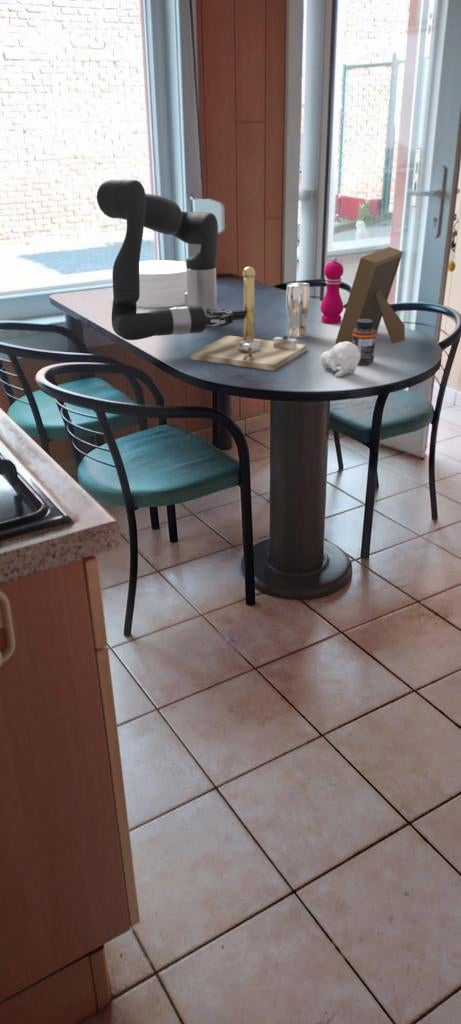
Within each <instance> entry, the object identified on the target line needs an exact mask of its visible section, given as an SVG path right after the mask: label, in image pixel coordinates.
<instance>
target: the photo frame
mask: <svg viewBox="0 0 461 1024" xmlns="http://www.w3.org/2000/svg"><path fill="white" fill-rule="evenodd" d="M403 254H404V251H402V250H398V249H396V248H393V247H390V246H388V247H385V248H382V249H380V250H377V251H374V252H372V253H370V254H369V253H368V254H366V255H364V256H361V257H360V259H359V263H358V266H357V270H356V273H355V276H354V279H353V282H352V285H351V290H350V293H349V296H348V299H347V303H346V306H345V311H344V313H343V318H341V322H340V327H339V330H338V333H337V336H336V340H335V345H337V344H338V343H339V342H345V341H348V342H351V343H352V336H353V330H354V328H356V327H357V320H359V319H371V320H372V321H373V325H372V328H374V329H375V331H376V334H377V333H378V331H379V328H380V324H381V320H383V322H384V325H385V327H386V331H387V333H388V336H389V339H390V342H391V343H398V342H403V341H406V340H405V339H406V337H405V335H406V334H405V331H406V330H405V324H404V323H403V321H402V320H401V318H400V317H399V316H398V314H397V312H396V311H395V310H394V309H393V307H392V306H391V304H390V303H389V302H388V299H389V296H390V293H391V291H392V287H393V285H394V281H395V278H396V275H397V272H398V268H399V265H400V263H401V259H402V256H403Z"/></svg>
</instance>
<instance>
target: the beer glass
mask: <svg viewBox="0 0 461 1024" xmlns="http://www.w3.org/2000/svg"><path fill="white" fill-rule="evenodd" d="M285 291H286V292H285V308H286V315H287V322H288V323H287V325H288V326H287V330H286V336H287V337H288V338H292V339H301V338H306V337H307V336H308V333H307V320H308V319H307V318H308V314H309V308H310V300H311V295H310V294H311V293H310V283H308V282H298V281H297V282H296V281H295V282H290V283H287V284H286V290H285Z"/></svg>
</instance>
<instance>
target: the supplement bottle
mask: <svg viewBox="0 0 461 1024" xmlns="http://www.w3.org/2000/svg"><path fill="white" fill-rule="evenodd" d="M372 325H373V321H372V320H371V319H359V320H357V327H356V328H354V330H353V336H352V343H353V344H355V345H356V346H357V347H358V350H359V352H360V354H361V356H360V359H359V363H358V365H357V366H370V365H371V364H373V363H374V359H375V349H376V348H375V345H376V334H377V333H376V331H375V329H374V328H372Z"/></svg>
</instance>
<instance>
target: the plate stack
mask: <svg viewBox="0 0 461 1024" xmlns="http://www.w3.org/2000/svg"><path fill="white" fill-rule="evenodd" d="M139 280H140V296H139V300H138V301H137V306H136V308H137V307H138V308H153V309H154V308H157V309H158V308H173V307H178V306H185V297H184V294H185V293H186V292H187V277H186V261H180V260H179V261H178V260H143V261H140V263H139Z"/></svg>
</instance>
